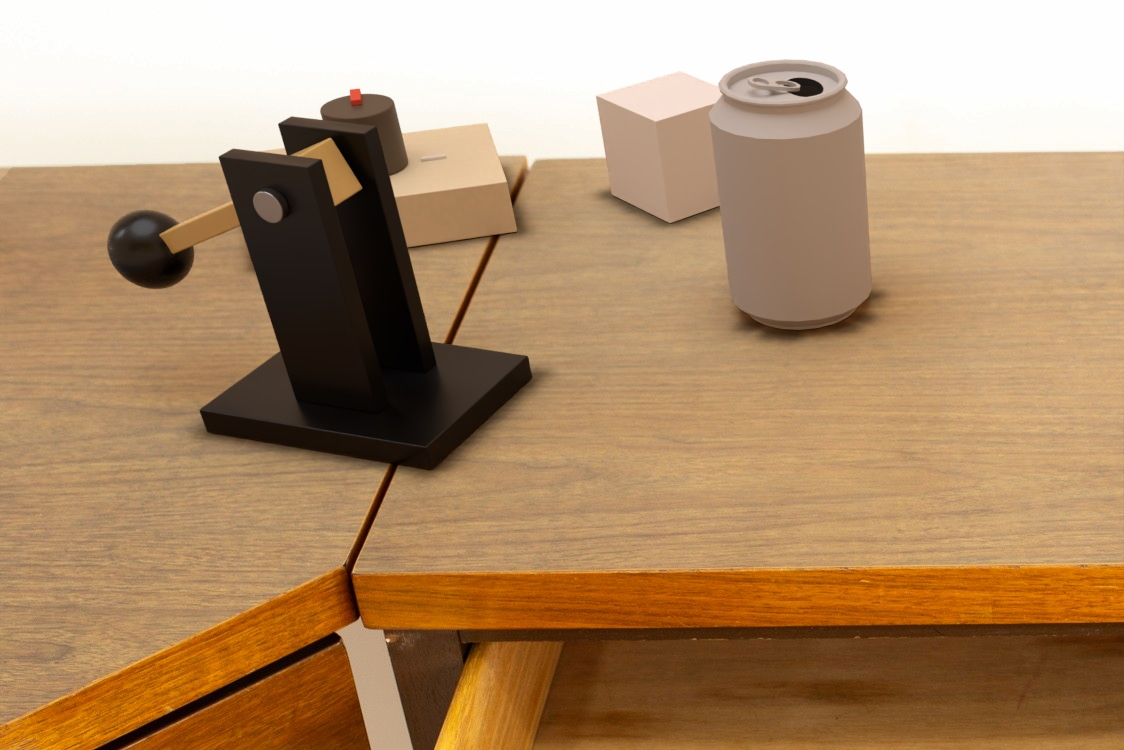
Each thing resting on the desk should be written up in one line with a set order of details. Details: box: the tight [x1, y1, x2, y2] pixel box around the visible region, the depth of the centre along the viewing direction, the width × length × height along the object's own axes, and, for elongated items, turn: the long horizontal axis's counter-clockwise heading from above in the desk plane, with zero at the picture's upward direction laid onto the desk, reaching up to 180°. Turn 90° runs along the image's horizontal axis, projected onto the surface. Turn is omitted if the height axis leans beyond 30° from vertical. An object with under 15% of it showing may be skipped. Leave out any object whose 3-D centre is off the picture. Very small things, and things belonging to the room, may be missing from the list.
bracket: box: [198, 115, 533, 470], centre depth 72 cm, size 12×9×13 cm
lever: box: [106, 138, 362, 290], centre depth 71 cm, size 14×4×4 cm, turn 74°
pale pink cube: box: [595, 70, 722, 224], centre depth 94 cm, size 6×6×6 cm
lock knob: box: [319, 88, 408, 175], centre depth 90 cm, size 4×4×4 cm
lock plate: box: [257, 122, 518, 248], centre depth 92 cm, size 14×10×3 cm
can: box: [709, 58, 873, 331], centre depth 80 cm, size 8×8×12 cm
